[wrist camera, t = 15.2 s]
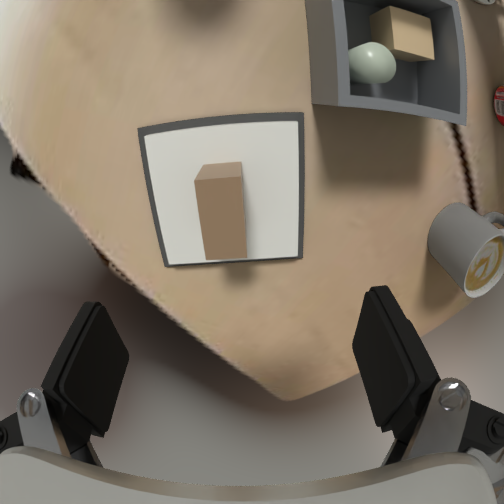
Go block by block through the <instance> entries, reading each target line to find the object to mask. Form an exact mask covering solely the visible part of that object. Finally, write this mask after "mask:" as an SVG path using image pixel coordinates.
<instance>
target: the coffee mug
mask: <svg viewBox="0 0 504 504" xmlns="http://www.w3.org/2000/svg"><path fill="white" fill-rule="evenodd" d="M491 223H499V224H501V225H502V226H504V215H503V214H502V213H499V212H490V213H487V214H485V215H483V216H481V215H479V214H478V213H476V212H475V211H474V210H472V209H471V208H469V207H468V206H466V205H465V204H463V203H453V204H450V205H448V206H446V207H445V208H444V209H443V210H442V211H441V212H440V213H439V214H438V215H437V216H436V218H435V219H434V221H433V223H432V225H431V228H430V231H429V234H428V248H429V251H430V253H431V255H432V256H433V257H434V258H435V259H436V260H437V261H438V262H439V264H440V265H441V266H442V267H443V268H444V269H445V270H446V271H447V272H448V274H449V275H450V276H451V277H452V278H453V279H454V281H455V282H456V283H457V284H458V285H459V286H460V288H461V289H462V290H463V291H464V292H465V294H466V295H467V296H469V297H472V298H476V297H479V296H482V295H484V294H485V293H487V292H488V291H489V290H490V289H492V288H493V287H494V285H496V283H497V282H498V281H499V280H500V278H501V277H502V275H503V273H504V228H503V229H498V228H496V227H495V226H494V225H493V224H491Z"/></svg>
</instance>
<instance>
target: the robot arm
mask: <svg viewBox="0 0 504 504" xmlns="http://www.w3.org/2000/svg"><path fill="white" fill-rule="evenodd" d="M474 1H476V2H478V3H480V4H484V5H489V4H493V3H494V2H495V1H496V0H474ZM352 348H353V352H354V355H355V358H356V361H357V364H358V368H359V371H360V374H361V377H362V380H363V383H364V387H365V390H366V393H367V396H368V400H369V403H370V406H371V410H372V413H373V417H374V420H375V423H376V426H377V427H380V426H381V430H382V433H383V432H387V431H390V430H392V431H393V434H394V437H395V440H394V442H393V444H392V446H391V448H390V450H389V452H388V453H387V455H386V457H385V459H384V461H383V463H382V465H381V466H380V467H379V468H375V469H371V470H367V471H363V472H358V473H354V474H349V475H344V476H339V477H333V478H328V479H322V480H316V481H309V482H300V483H291V484H280V485H264V486H214V485H198V484H187V483H178V482H170V481H163V480H156V479H150V478H145V477H140V476H135V475H130V474H125V473H121V472H117V471H113V470H109V469H105V468H103V466H102V464H101V462H100V460H99V458H98V456H97V454H96V452H95V450H94V448H93V445H92V443H91V441H90V436H91V434H92V435H95V436H99V437H104V434H105V432H107V431H108V429H109V426H110V422H111V419H112V415H113V411H114V407H115V404H116V400H117V397H118V393H119V390H120V387H121V384H122V380H123V377H124V374H125V371H126V367H127V364H128V361H129V353H128V351H127V349H126V347H125V345H124V344H123V341H122V340H121V338H120V336H119V334H118V332H117V330H116V328H115V326H114V324H113V322H112V320H111V318H110V316H109V314H108V312H107V310H106V308H105V307H104V306H102V304H101V303H100V302H85V303H84V304H83V306H82V307H81V309H80V311H79V313H78V314H77V316H76V318H75V319H74V321H73V323H72V325H71V327H70V328H69V330H68V332H67V334H66V336H65V338H64V340H63V342H62V343H61V345H60V347H59V349H58V351H57V353H56V355H55V357H54V359H53V361H52V363H51V365H50V367H49V370H48V372H47V374H46V376H45V378H44V380H43V383H42V385H41V387H42V388H43V389H44V390H43V392H41V391H40V390H38V389H35V388H31V389H28V390H26V391H25V392H24V393H23V394H22V395H21V396H20V398H19V400H18V402H17V412H16V413H14V414H12V415H10V416H9V417H7V418H5V419H4V420H2V421H0V504H504V414H503V413H501V412H498V411H496V410H493V409H491V408H489V407H486V406H484V405H482V404H479V403H477V402H475V401H472V400H471V395H470V392H469V389H468V388H467V386H466V385H465V384H464V383H463V382H462V381H460V380H458V379H456V378H445V379H443V380H441V379H440V377H439V375H438V373H437V371H436V369H435V366H434V364H433V363H432V360H431V358H430V357H429V354H428V353H427V351H426V349H425V347H424V345H423V343H422V341H421V339H420V337H419V335H418V334H417V332H416V330H415V328H414V326H413V324H412V323H411V322H410V320H408V319H407V318H406V317H405V315H404V313H403V311H402V309H401V308H400V306H399V304H398V303H397V301H396V299H395V297H394V296H393V294H392V292H391V291H390V289H389V288H388V286H386V285H384V286H376V287H371V288H370V290H369V292H366V293H365V296H364V300H363V304H362V308H361V313H360V317H359V320H358V324H357V328H356V332H355V335H354V339H353V343H352Z"/></svg>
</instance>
